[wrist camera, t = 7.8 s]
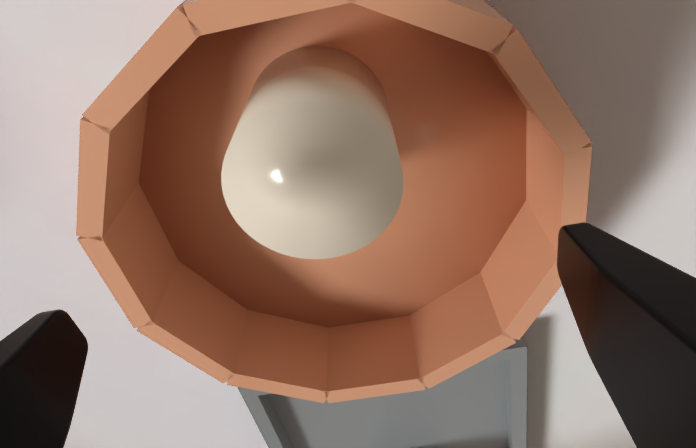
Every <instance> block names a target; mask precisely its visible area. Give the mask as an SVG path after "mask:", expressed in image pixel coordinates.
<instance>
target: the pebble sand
mask: <svg viewBox="0 0 696 448" xmlns="http://www.w3.org/2000/svg"><path fill="white" fill-rule="evenodd" d="M403 183H404V181H403V171H402V166H401V162H400V157H399V153H398V148H397V144H396V139H395V135H394V130H393V126H392V121H391V117H390V112H389V108H388V103H387V99H386V95H385V92H384V90H383V87H382V85H381V83H380V82H379V80H378V78H377V77H376V76H375V74H374V73H373V72H372V70H371V69H370V68H369V67H368V66H367V65H366V64H364V63H363V62H362V61H360V60H359V59H358V58H356V57H354V56H353V55H351V54H349V53H347V52H344V51H342V50H339V49H335V48H331V47H324V46H309V47H302V48H298V49H294V50H291V51H289V52H287V53H285V54H282V55H281V56H279V57H278V58H276V59H275V60H273V61H272V62H271V63H270V64H269V65H267V67H266V68H265V69H264V70H263V71H262V72H261V74H260V75H259V77H258V78H257V80H256V82H255V84H254V86H253V88H252V91H251V93H250V95H249V98H248V100H247V103H246V105H245V108H244V110H243V112H242V115H241V117H240V120H239V122H238V125H237V127H236V129H235V132H234V134H233V137H232V139H231V141H230V144H229V146H228V149H227V151H226V154H225V157H224V160H223V164H222V172H221V185H222V191H223V196H224V199H225V202H226V205H227V207H228V209H229V211H230V213H231V215H232V216H233V218H234V219H235V221H236V222H237V223H238V225H239V226H240V227H241V228H242V229H243V230H244V231H245V232H246V233H247V234H248V235H249V236H250V237H251V238H253V239H254V240H256V241H257V242H258V243H260V244H262V245H263V246H265V247H267V248H269V249H271V250H273V251H276V252H278V253H281V254H284V255H287V256H291V257H296V258H303V259H327V258H334V257H339V256H343V255H346V254H349V253H352V252H354V251H356V250H358V249H361V248H363V247H364V246H366V245H367V244H369V243H371V242H372V241H373V240H375V239H376V238H377V237H378V236H379V235H380V234H381V233H382V232H383V231H384V230H385V229H386V228H387V227H388V226H389V224H390V223H391V221H392V220H393V218H394V216H395V215H396V213H397V211H398V208H399V205H400V203H401V199H402V194H403Z"/></svg>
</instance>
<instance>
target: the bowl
mask: <svg viewBox="0 0 696 448" xmlns="http://www.w3.org/2000/svg"><path fill="white" fill-rule="evenodd" d="M309 46H324V47H331V48H335V49H339V50H342V51H344V52H347V53H349V54H351V55H353V56H354V57H356V58H358V59H359V60H360V61H362V62H363V63H364V64H366V65H367V66H368V67H369V68H370V69H371V70H372V72H373V73H374V74H375V76H376V77H377V78H378V80H379V82H380V83H381V85H382V87H383V90H384V92H385V95H386V99H387V103H388V108H389V112H390V117H391V121H392V126H393V130H394V135H395V139H396V144H397V148H398V153H399V157H400V162H401V166H402V171H403V181H404V183H403V194H402V199H401V203H400V205H399V208H398V211H397V213H396V215H395V216H394V218H393V220H392V221H391V223H390V224H389V226H388V227H387V228H386V229H385V230H384V231H383V232H382V233H381V234H380V235H379V236H378V237H377V238H376V239H375V240H373V241H372V242H371V243H369V244H367V245H366V246H364V247H363V248H361V249H358V250H356V251H354V252H352V253H349V254H346V255H343V256H339V257H334V258H327V259H303V258H296V257H291V256H287V255H284V254H281V253H278V252H276V251H273V250H271V249H269V248H267V247H265V246H263V245H262V244H260V243H258V242H257V241H256V240H254V239H253V238H251V237H250V236H249V235H248V234H247V233H246V232H245V231H244V230H243V229H242V228H241V227H240V226H239V225H238V223H237V222H236V221H235V219H234V218H233V216H232V215H231V213H230V211H229V209H228V207H227V205H226V202H225V199H224V196H223V191H222V185H221V172H222V164H223V160H224V157H225V154H226V151H227V149H228V146H229V144H230V141H231V139H232V137H233V134H234V132H235V129H236V127H237V125H238V122H239V120H240V117H241V115H242V112H243V110H244V108H245V105H246V103H247V100H248V98H249V95H250V93H251V91H252V88H253V86H254V84H255V82H256V80H257V78H258V77H259V75H260V74H261V72H262V71H263V70H264V69H265V68H266V67H267V65H269V64H270V63H271V62H272V61H273V60H275V59H276V58H278V57H279V56H281V55H282V54H285V53H287V52H289V51H291V50H294V49H298V48H302V47H309ZM82 115H83V116H84V117H83V118H82V119H81V120H80V144H79V173H78V201H77V229H76V235H77V236H80V237H79V238H78V241H79V243H80V244H81V246H82V247H83V249H84V250H85V252H86V254H87V255H88V257H89V258H90V260H91V261H92V263H93V265H94V266H95V268H96V269H97V271H98V272H99V274H100V275H101V277H102V279H103V280H104V282H105V283H106V285H107V286H108V288H109V290H110V291H111V293H112V294H113V296H114V297H115V299H116V301H117V302H118V304H119V305H120V307H121V308H122V310H123V311H124V313H125V315H126V316H127V318H128V319H129V321H130V322H131V324H132V326H133V327H134V328H136V327H139V328H138V330H137V331H138V332H140V333H142V334H143V335H145V336H146V337H148V338H150V339H151V340H153V341H155V342H156V343H158V344H160V345H161V346H163V347H165V348H166V349H168V350H169V351H171V352H173V353H174V354H176V355H178V356H179V357H181V358H183V359H184V360H186V361H187V362H189V363H191V364H192V365H194V366H196V367H197V368H199V369H201V370H202V371H204V372H205V373H207V374H209V375H210V376H212V377H214V378H215V379H217V380H219V381H220V382H222V383H224V382H226V381H227V380H228V382H227V385H231V386H236V387H242V388H247V389H252V390H257V391H262V392H268V393H273V394H278V395H283V396H289V397H294V398H299V399H304V400H309V401H315V402H320V403H324V402H325V400H326V399H327V402H328V403H335V402H342V401H349V400H356V399H363V398H371V397H378V396H385V395H392V394H399V393H407V392H414V391H421V390H425V386H426V387H428V388H431V387H433V386H435V385H437V384H439V383H441V382H443V381H445V380H446V379H448V378H450V377H452V376H454V375H456V374H458V373H460V372H462V371H463V370H465V369H467V368H469V367H471V366H473V365H475V364H477V363H479V362H480V361H482V360H484V359H486V358H488V357H490V356H492V355H494V354H496V353H498V352H499V351H501V350H503V349H505V348H507V347H509V346H511V345H513V344H515V343H516V341H515V339H517V340H520V339H521V337H522V336H523V335H524V333H525V332H526V331H527V329H528V328H529V327H530V326H531V324H532V323H533V322H534V320H535V319H536V318H537V316H538V315H539V314H540V313H541V311H542V310H543V309H544V307H545V306H546V305H547V303H548V302H549V301H550V300H551V298H552V297H553V296H554V294H555V293H556V292H557V290H558V289H559V288H560V287H561V285H562V283H561V280H560V278H559V274H558V270H557V250H558V233H559V230H560V228H561V227H562V226H564V225H570V224H576V223H582V222H585V223H586V214H587V203H588V192H589V181H590V169H591V158H592V147H593V146H592V145H591V144H590V142H591V140H590V139H589V137H588V135H587V134H586V132H585V131H584V129H583V128H582V126H581V125H580V123H579V122H578V120H577V119H576V117H575V116H574V114H573V113H572V111H571V109H570V108H569V106H568V105H567V103H566V102H565V100H564V99H563V97H562V96H561V94H560V93H559V91H558V90H557V88H556V86H555V85H554V83H553V82H552V80H551V79H550V77H549V76H548V74H547V73H546V71H545V70H544V68H543V67H542V65H541V64H540V62H539V60H538V59H537V57H536V56H535V54H534V53H533V51H532V50H531V48H530V47H529V45H528V44H527V42H526V41H525V39H524V38H523V36H522V34H521V33H520V31H519V30H518V29H517V28H516V27H515V26H514V25H512V24H511V23H510V22H509V21H508V20H506V19H505V18H504V17H503V16H502V15H500V14H499V13H498V12H497V11H496V10H494V9H493V8H492V7H491V6H490V5H488V4H487V3H486V2H485V1H484V0H185V1H184V2H183V3H182V4H180V5H179V6H178V7H177V8H176V9H175V10H174V11H173V12H172V13H171V15H170V16H169V17H168V18H167V19H166V20H165V21H164V22H163V24H162V25H161V26H160V27H159V28H158V29H157V30H156V32H155V33H154V34H153V35H152V36H151V37H150V38H149V40H148V41H147V42H146V43H145V44H144V45H143V46H142V47H141V49H140V50H139V51H138V52H137V53H136V54H135V55H134V57H133V58H132V59H131V60H130V61H129V62H128V63H127V65H126V66H125V67H124V68H123V69H122V70H121V71H120V72H119V74H118V75H117V76H116V77H115V78H114V79H113V80H112V82H111V83H110V84H109V85H108V86H107V87H106V88H105V89H104V91H103V92H102V93H101V94H100V95H99V96H98V97H97V99H96V100H95V101H94V102H93V103H92V104H91V105H90V107H89V108H88V109H87V110H86V111H85V112H84V113H83V114H82ZM424 385H425V386H424Z"/></svg>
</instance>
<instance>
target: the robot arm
mask: <svg viewBox="0 0 696 448" xmlns="http://www.w3.org/2000/svg"><path fill="white" fill-rule="evenodd" d="M557 270H558V274H559V278H560V280H561V283H562V286H563V288H564V291H565V294H566V296H567V299H568V302H569V304H570V307H571V310H572V312H573V315H574V318H575V320H576V323H577V326H578V328H579V331H580V333H581V336H582V339H583V341H584V344H585V346H586V349H587V351H588V354H589V356H590V358H591V360H592V362H593V364H594V366H595V368H596V370H597V372H598V374H599V376H600V378H601V380H602V382H603V383H604V385H605V387H606V389H607V391H608V393H609V395H610V397H611V399H612V401H613V403H614V405H615V406H616V408H617V410H618V412H619V414H620V416H621V418H622V420H623V422H624V424H625V426H626V428H627V429H628V431H629V433H630V435H631V437H632V439H633V441H634V443H635V445H636V447H637V448H696V278H695V277H693V276H691V275H689V274H687V273H685V272H683V271H681V270H679V269H677V268H675V267H673V266H671V265H669V264H667V263H665V262H663V261H661V260H659V259H657V258H655V257H653V256H651V255H650V254H648V253H646V252H644V251H642V250H640V249H638V248H636V247H634V246H632V245H630V244H628V243H626V242H624V241H622V240H620V239H618V238H616V237H614V236H612V235H610V234H608V233H606V232H604V231H603V230H601V229H599V228H597V227H595V226H593V225H591V224H588V223H585V222H582V223H576V224H570V225H564V226H562V227H561V228H560V230H559V233H558V250H557ZM87 352H88V344H87V340H86V338H85V336H84V335H83V333H82V332H81V331H80V329H79V328H78V327H77V325H76V324H75V323H74V321H73V320H72V319H71V317H70V316H69V315H68V313H67V312H65V311H63V310H53V311H47V312H42V313H39V314H37V315H35V316H34V317H33V318H31V319H30V320H29V321H27V322H26V323H24V324H23V325H22V326H20V327H19V328H18V329H16V330H15V331H14V332H12V333H11V334H9V335H8V336H7V337H5V338H4V339H3V340H1V341H0V448H63V447H64V444H65V441H66V438H67V435H68V432H69V428H70V425H71V421H72V417H73V413H74V409H75V404H76V400H77V396H78V391H79V387H80V383H81V378H82V374H83V369H84V365H85V361H86V356H87Z"/></svg>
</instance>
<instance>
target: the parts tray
mask: <svg viewBox="0 0 696 448" xmlns="http://www.w3.org/2000/svg"><path fill="white" fill-rule="evenodd" d="M515 341H516V343H515V344H513V345H511V346H509V347H507V348H505V349H503V350H501V351H499V352H498V353H496V354H494V355H492V356H490V357H488V358H486V359H484V360H482V361H480V362H479V363H477V364H475V365H473V366H471V367H469V368H467V369H465V370H463V371H462V372H460V373H458V374H456V375H454V376H452V377H450V378H448V379H446V380H445V381H443V382H441V383H439V384H437V385H435V386H433V387H431V388H428V387H426V386H425V385H424V386H425V390H421V391H414V392H407V393H399V394H392V395H385V396H378V397H371V398H363V399H356V400H349V401H342V402H335V403H328V402H327V399H326V400H325V402H324V403H320V402H315V401H309V400H304V399H299V398H294V397H289V396H283V395H278V394H273V393H268V392H262V391H257V390H252V389H247V388H242V387H238V389H239V391H240V393H241V395H242V397H243V399H244V401H245V403H246V405H247V407H248V409H249V411H250V412H251V414H252V416H253V418H254V420H255V422H256V424H257V426H258V428H259V430H260V432H261V434H262V436H263V438H264V439H265V441H266V443H267V445H268V447H269V448H526V434H527V345H526V342H525V340H524V337H523V336H522V337H521V339H520V340H517V339H515Z"/></svg>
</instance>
